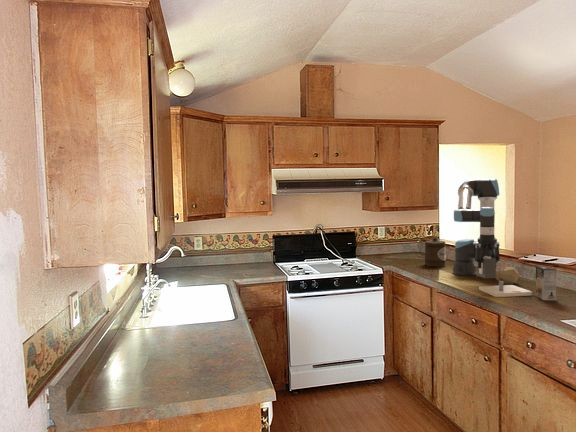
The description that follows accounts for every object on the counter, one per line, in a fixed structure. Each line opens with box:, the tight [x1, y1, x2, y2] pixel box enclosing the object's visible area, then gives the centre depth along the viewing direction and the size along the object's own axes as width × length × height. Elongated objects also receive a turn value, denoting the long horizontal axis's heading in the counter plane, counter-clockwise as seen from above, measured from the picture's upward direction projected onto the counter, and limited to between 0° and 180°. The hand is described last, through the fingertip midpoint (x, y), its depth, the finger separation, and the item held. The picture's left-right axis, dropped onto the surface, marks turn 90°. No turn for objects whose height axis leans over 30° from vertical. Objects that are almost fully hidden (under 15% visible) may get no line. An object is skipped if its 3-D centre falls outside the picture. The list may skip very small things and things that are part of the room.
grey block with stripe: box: [477, 256, 497, 279], centre depth 231 cm, size 7×7×12 cm
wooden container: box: [424, 236, 446, 268], centre depth 304 cm, size 15×15×22 cm
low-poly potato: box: [495, 266, 520, 285], centre depth 240 cm, size 15×11×12 cm
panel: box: [478, 281, 533, 298], centre depth 219 cm, size 16×20×7 cm
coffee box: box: [535, 265, 557, 301], centre depth 206 cm, size 9×6×16 cm
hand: (487, 273), depth 231 cm, fingers closed on grey block with stripe, 7 cm apart
